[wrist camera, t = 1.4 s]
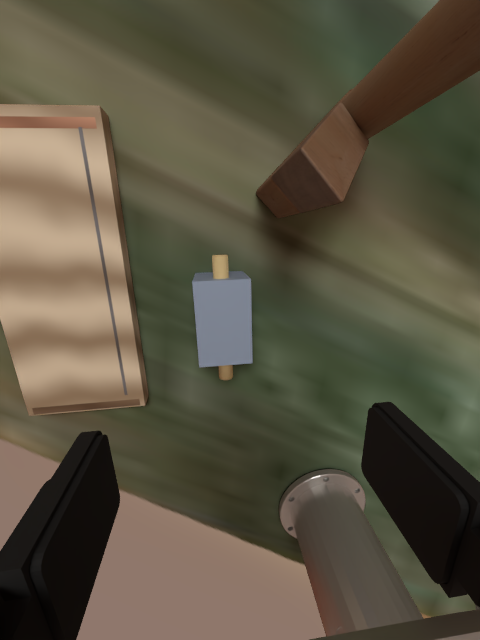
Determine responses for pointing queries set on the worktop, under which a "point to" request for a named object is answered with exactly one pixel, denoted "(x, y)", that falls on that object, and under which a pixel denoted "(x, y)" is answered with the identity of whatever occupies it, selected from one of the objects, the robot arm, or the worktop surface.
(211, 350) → the grey block on dowel
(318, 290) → the worktop surface
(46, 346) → the maple board
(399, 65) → the wooden block
